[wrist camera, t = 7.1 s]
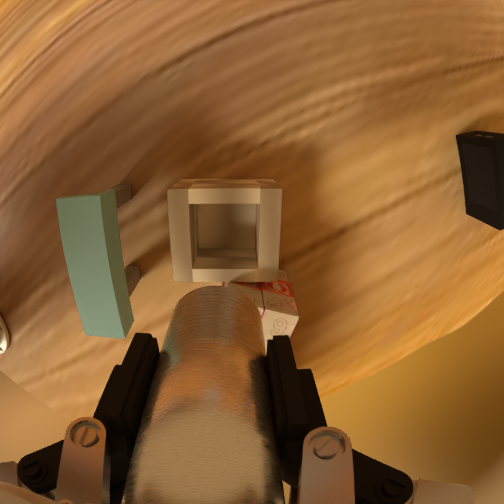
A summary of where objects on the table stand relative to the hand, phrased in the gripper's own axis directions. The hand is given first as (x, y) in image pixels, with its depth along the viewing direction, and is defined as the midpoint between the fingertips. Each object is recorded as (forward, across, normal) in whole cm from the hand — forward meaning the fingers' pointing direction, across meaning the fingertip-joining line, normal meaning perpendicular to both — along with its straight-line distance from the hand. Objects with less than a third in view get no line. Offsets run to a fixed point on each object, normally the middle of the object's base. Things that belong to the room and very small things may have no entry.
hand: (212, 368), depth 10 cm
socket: (+21, 0, 0) cm, 21 cm away
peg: (+3, 0, 0) cm, 3 cm away
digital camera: (+21, -31, -7) cm, 38 cm away
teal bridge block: (+21, +11, +2) cm, 23 cm away
